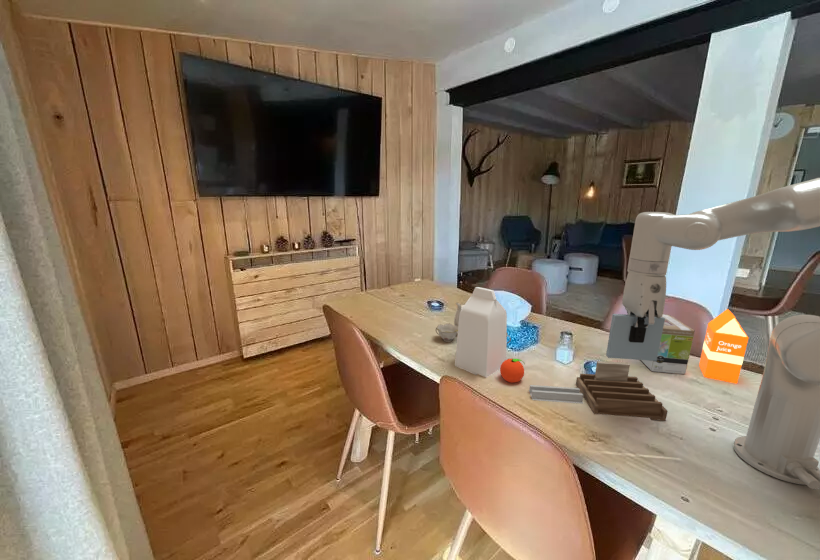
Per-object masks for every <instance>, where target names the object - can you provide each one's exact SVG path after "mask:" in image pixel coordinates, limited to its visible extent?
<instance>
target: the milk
mask: <svg viewBox="0 0 820 560" xmlns="http://www.w3.org/2000/svg"><path fill="white" fill-rule="evenodd" d="M461 308H462V309H461V311H460V314H459V325H458V332H457V335H456V336H457V338H456V346H455V347H456V349H455V350H456V351H455V360H454V367H456V368H458V369H461V370H463V369H464V371H465V370H466V371H465V372H468V373H471V374H472V375H475V376H478V375H479V376H481V377H484V378H488V377H489V376H491V375H494V374H495V373H496V372H497V371H500V367H501V364H502V363H503V362H504V361H505V360H507V342H508V340H507V338H508V336H507V335H508V334H507V333H508V332H507V331H508V330H507V329H508V328H507V325H508V322H507V321H508V320H507V319H508V315H507V314H508V313H507V310H506V309H505V308H504V306H503V305H502V304H501V303H500V302H499V301H498V300H497V297H496V293H495V291H494V289H489V288H485V287H481V286H480V287H479V286H476V287H474V289H473V292H472V294H471V295H470V297H469V298H468V300H466V302H465V303H464V305H463V306H462V307H461Z"/></svg>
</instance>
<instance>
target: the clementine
mask: <svg viewBox="0 0 820 560" xmlns="http://www.w3.org/2000/svg"><path fill="white" fill-rule="evenodd" d="M521 362H523V360H522V359H520V358H506V360H505V361H504V362H503V363H502V364H501V367H500V369H499V373H500V375H501V377H502V378H503V380H505V381H506V382H508V383H511V384H513V383H514V384H515V383H519V382H520V381H521V380H523V377H525V368H524V365H526V363H525V362H523V364H524V365H523V364H522V363H521Z"/></svg>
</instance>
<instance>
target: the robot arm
mask: <svg viewBox="0 0 820 560" xmlns="http://www.w3.org/2000/svg"><path fill="white" fill-rule="evenodd" d="M819 227H820V177H815V178H813V179H810V180H809V179H808V180H805V181H801V182H797V183H794V184H789V185H786V186H783V187H780V188H775V189H773V190H770V191H769V190H768V191H767V192H764V193H761V194H757V195H755V196H751V197H748V198H744V199H739V200H736V201H733V202H729V203H725V204H721V205H717V206H713V207H710V208H706V209H701V210H698V211H693V212H692V213H689V214H673V213H672V212H663V211H662V212H661V211H644V212H640V213H638V215H637V216H636V218H635V222H634V227H633V235H632V239H631V245H630V246H631V247H630V252H629V253H630V254H629V258H628V264H627V270H626V272H627V276H626V280H625V283H624V287H623V294H622V303H621V304H622V306H623V308H624V310H625V311H626V314H627V315H635V318H634V323H633V326H631V329H630V335H629V341H630V342H637V343H643V342H644V338H645V333H646V328H648V325H654V317H656V318H662V316H663V314H664V311H665V304H666V297H667V296H666V294H667V276H666V275H667V271H668V268H669V261H670V256H671V252H672V248H673V247H674V248H680V249H685V250H691V251H700V250H701V251H702V250H705V249H709V248H711V247H712V246H714V245H716V243H718V241H722V240H723V241H724V240H727V239H732V238H736V237H741V236H747V235H748V236H749V235H752V234H753V235H754V234H760V233H773V232H774V233H775V232H778V233H780V232H783V233H785V232H797V231H804V230H809V229H814V228H819ZM640 318H645V319H640ZM639 319H640V320H639ZM753 406H754V407H753V409H752V410H753V411H752V413H751V416H750V421H749V424H748V427H747V433H746V435H745V436H742V435H741V436H739V437H736V438H735V439H734V441H733V449H734V451H735V452H736V454H737V455H738V457H740V459H742V460H743V461H744V462H745V463H746V464H748V465H750V466H751V467H753V468H754V469H756V470H758V471H760V472H762V473H763V474H766V475H768V476H771V477H773V478H776V479H778V480H781V481H784V482H788V483H791V484H797V485H806V486H807V487H808V488H809V489H810V490H818V489H819V488H820V468H819V467H818V465H819V464H820V463H819V460H817V459H816V458H815V454H816V452H817V448H818V445H819V442H820V316H819V315H814V314H797V315H792V316H789V317H786V318H784V319H782V320H781V321H780V322H778V323H777V324H776V325H775V326H774V328H773V330H772V331H771V333H770V337H769V342H768V347H767V354H766V360H765V364H764V368H763V373H762V377H761V381H760V384H759V388H758V391H757V395H756V399H755V402H754V405H753Z"/></svg>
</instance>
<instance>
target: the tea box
mask: <svg viewBox="0 0 820 560" xmlns="http://www.w3.org/2000/svg"><path fill="white" fill-rule="evenodd" d="M662 317H664V318H665V321H664V326H663V331H662V336H661V341H660V346H659V351H658V356H657V361H650V360H640V361H641V362H642V363H643V364H644V365H645V366H646V367H647V368H648V369H649V370H650V371H651V372H654V373H655V372H657V373H666V374H677V375H685V374H686V373H687V368H688V363H689V359H690V353H691V350H692V347H693V346H692V345H693V341H694V336H695V330H694V329H693V328H691V327H690V326H688V325H687V324H685V323H683V321H681V320H679V319H677V318H676V317H674V316H673V315H670V314H664V313H663V316H662Z"/></svg>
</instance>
